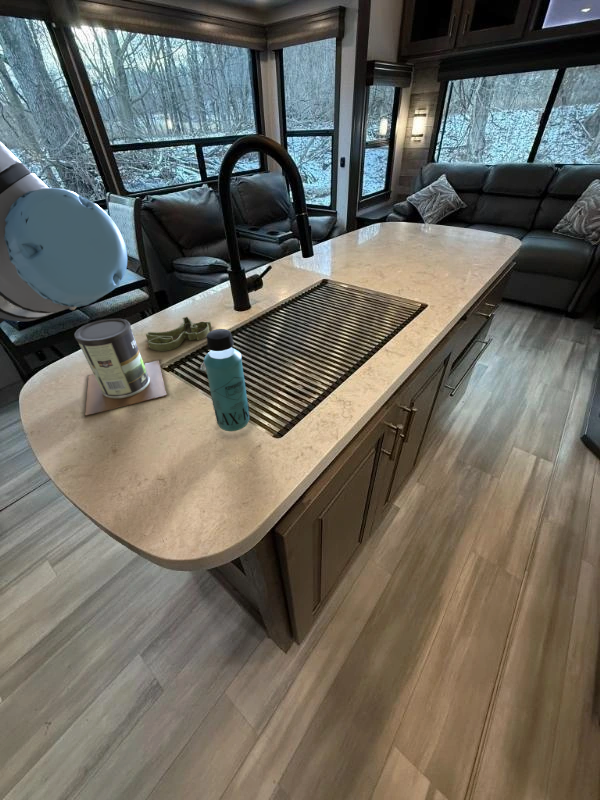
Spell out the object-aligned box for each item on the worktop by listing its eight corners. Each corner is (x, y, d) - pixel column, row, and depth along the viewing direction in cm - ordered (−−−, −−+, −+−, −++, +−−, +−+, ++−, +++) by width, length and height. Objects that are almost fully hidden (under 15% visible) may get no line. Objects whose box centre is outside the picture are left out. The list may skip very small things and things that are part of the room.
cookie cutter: (192, 320, 103) (191, 314, 101) (218, 330, 97) (217, 324, 96) (140, 342, 92) (137, 336, 90) (165, 356, 86) (163, 349, 85)
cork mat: (85, 416, 68) (85, 415, 67) (88, 376, 79) (88, 375, 79) (166, 395, 73) (166, 395, 73) (158, 360, 84) (158, 360, 84)
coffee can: (143, 368, 81) (123, 313, 72) (155, 388, 75) (135, 331, 66) (97, 382, 77) (71, 326, 68) (106, 405, 70) (77, 346, 61)
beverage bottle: (210, 429, 64) (187, 336, 52) (234, 410, 68) (218, 320, 56) (235, 442, 61) (217, 347, 49) (258, 422, 65) (247, 330, 53)
